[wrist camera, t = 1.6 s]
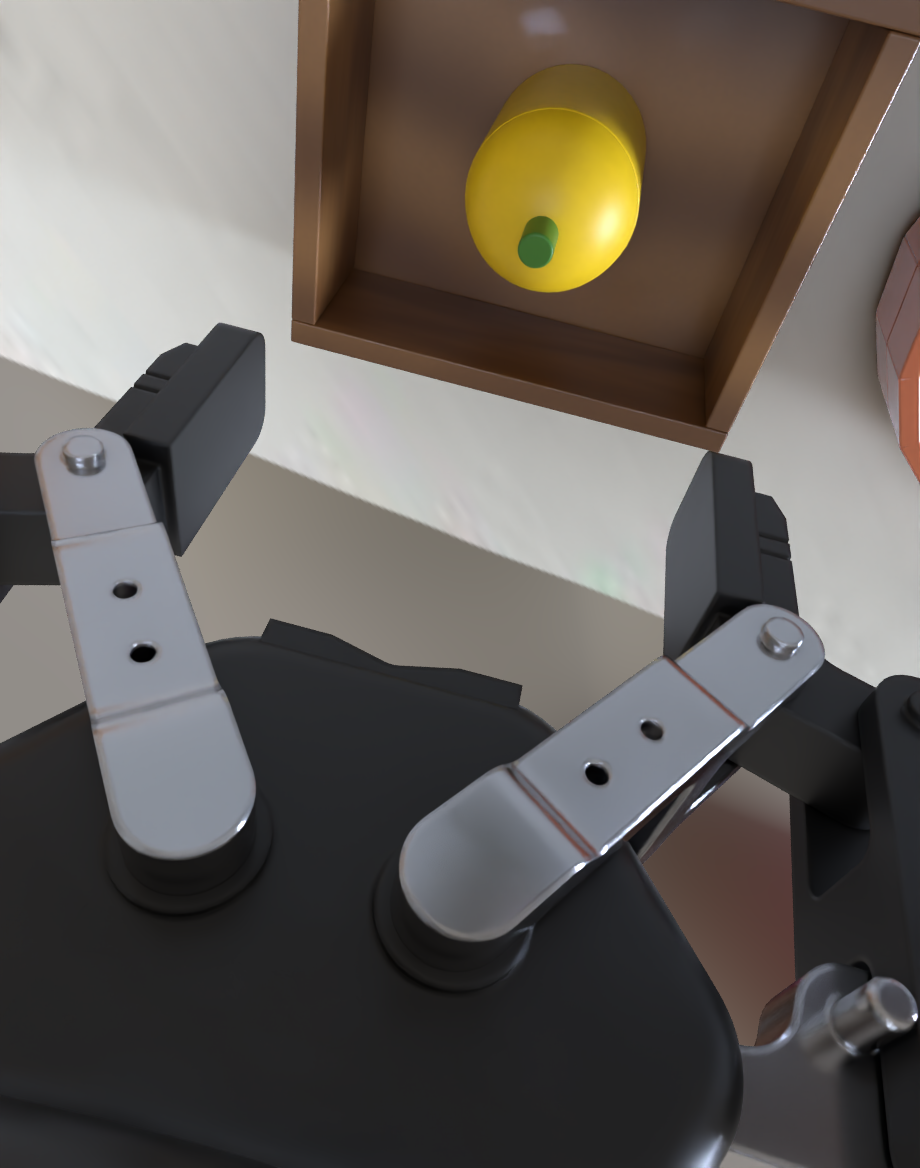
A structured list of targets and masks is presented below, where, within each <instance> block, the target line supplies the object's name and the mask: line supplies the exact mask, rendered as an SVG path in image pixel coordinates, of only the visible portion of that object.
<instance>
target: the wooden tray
mask: <svg viewBox="0 0 920 1168" xmlns="http://www.w3.org/2000/svg"><path fill="white" fill-rule="evenodd" d="M919 47H920V0H299V14H298V59H297V104H296V149H295V194H294V239H293V284H292V328H291V340H292V341H293V342H297V343H301V344H304V345H308V346H312V347H316V348H320V349H323V350H327V351H331V352H335V353H339V354H343V355H346V356H350V357H354V358H358V359H362V360H365V361H369V362H373V363H377V364H381V365H385V366H388V367H392V368H396V369H400V370H404V371H408V372H411V373H415V374H419V375H423V376H427V377H430V378H434V379H438V380H442V381H446V382H450V383H453V384H457V385H461V386H465V387H469V388H472V389H476V390H480V391H484V392H488V393H492V394H495V395H499V396H503V397H507V398H511V399H514V400H518V401H522V402H526V403H530V404H534V405H537V406H541V407H545V408H549V409H553V410H557V411H560V412H564V413H568V414H572V415H576V416H579V417H583V418H587V419H591V420H595V421H599V422H602V423H606V424H610V425H614V426H618V427H621V428H625V429H629V430H633V431H637V432H641V433H644V434H648V435H652V436H656V437H660V438H664V439H667V440H671V441H675V442H679V443H683V444H686V445H690V446H694V447H698V448H702V449H706V450H709V451H713V452H717V453H718V452H719V451H720V450H721V448H722V446H723V444H724V442H725V440H726V437H727V435H728V432H729V431H730V429H731V427H732V425H733V423H734V421H735V419H736V417H737V415H738V413H739V411H740V409H741V407H742V405H743V403H744V401H745V399H746V397H747V395H748V393H749V391H750V389H751V387H752V385H753V382H754V380H755V378H756V376H757V374H758V372H759V370H760V368H761V366H762V364H763V362H764V360H765V358H766V356H767V354H768V352H769V350H770V348H771V346H772V344H773V342H774V340H775V338H776V336H777V334H778V332H779V330H780V328H781V326H782V324H783V322H784V320H785V318H786V316H787V314H788V312H789V310H790V308H791V306H792V304H793V302H794V300H795V298H796V295H797V293H798V291H799V289H800V287H801V285H802V283H803V281H804V279H805V277H806V275H807V273H808V271H809V269H810V267H811V265H812V263H813V261H814V259H815V257H816V255H817V253H818V251H819V249H820V247H821V245H822V243H823V241H824V239H825V237H826V235H827V233H828V231H829V229H830V227H831V225H832V223H833V221H834V219H835V217H836V215H837V213H838V211H839V208H840V206H841V204H842V202H843V200H844V198H845V196H846V194H847V192H848V190H849V188H850V186H851V184H852V182H853V180H854V178H855V176H856V174H857V172H858V170H859V168H860V166H861V164H862V162H863V160H864V158H865V156H866V154H867V152H868V150H869V148H870V146H871V144H872V142H873V140H874V138H875V136H876V134H877V132H878V130H879V128H880V126H881V124H882V121H883V119H884V117H885V115H886V113H887V111H888V109H889V107H890V105H891V103H892V101H893V99H894V97H895V95H896V93H897V91H898V89H899V87H900V85H901V83H902V81H903V79H904V77H905V75H906V73H907V71H908V69H909V67H910V65H911V63H912V61H913V59H914V57H915V55H916V53H917V51H918V49H919ZM566 64H579V65H584V66H590V67H593V68H596V69H598V70H601V71H603V72H605V73H607V74H608V75H610V76H611V77H613V78H614V79H615V80H617V81H618V82H619V83H620V84H621V85H622V86H623V87H624V88H625V89H626V90H627V91H628V93H629V94H630V95H631V96H632V98H633V100H634V101H635V103H636V105H637V107H638V109H639V111H640V114H641V116H642V120H643V123H644V127H645V134H646V156H645V164H644V172H643V181H642V189H641V197H640V205H639V213H638V218H637V222H636V226H635V229H634V231H633V234H632V236H631V238H630V240H629V242H628V244H627V246H626V248H625V249H624V250H623V252H622V253H621V255H620V256H619V257H618V258H617V259H616V261H615V262H614V263H613V264H612V265H611V266H610V267H609V268H608V269H606V270H605V271H604V272H603V273H602V274H600V275H599V276H598V277H596V278H594V279H593V280H591V281H590V282H588V283H586V284H584V285H582V286H579V287H577V288H574V289H571V290H566V291H561V292H550V293H549V292H537V291H532V290H528V289H525V288H522V287H519V286H517V285H515V284H512V283H510V282H509V281H507V280H506V279H504V278H503V277H501V276H500V275H499V274H498V273H496V272H495V271H494V270H493V269H492V268H491V267H490V266H489V265H488V264H487V262H486V261H485V260H484V258H483V257H482V256H481V254H480V252H479V251H478V249H477V247H476V245H475V243H474V240H473V238H472V235H471V233H470V229H469V226H468V222H467V216H466V209H465V189H466V182H467V177H468V173H469V170H470V167H471V164H472V162H473V159H474V157H475V155H476V154H477V152H478V150H479V148H480V146H481V144H482V143H483V141H484V139H485V137H486V136H487V134H488V132H489V130H490V129H491V127H492V125H493V123H494V122H495V120H496V118H497V116H498V115H499V113H500V111H501V109H502V108H503V106H504V104H505V102H506V101H507V100H508V98H509V97H510V95H511V94H512V93H513V92H514V91H515V90H516V89H517V87H518V86H519V85H521V84H522V83H523V82H524V81H525V80H527V79H528V78H530V77H531V76H533V75H534V74H536V73H538V72H540V71H542V70H545V69H547V68H550V67H554V66H558V65H566Z"/></svg>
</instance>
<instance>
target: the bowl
mask: <svg viewBox="0 0 920 1168" xmlns="http://www.w3.org/2000/svg"><path fill="white" fill-rule="evenodd" d="M876 340H877V370H878V379H879V383H880V386H881V389H882V392H883V395H884V399H885V402H886V405H887V408H888V411H889V415H890V418H891V421H892V424H893V428H894V431H895V434H896V437H897V440H898V444H899V447H900V450H901V451H902V453H903V455H904V457H905V458H906V460H907V462H908V464H909V466H910V467H911V469H912V471H913V473H914V475H915V476H916V478H917V480H918V482H919V484H920V217H919V218H918V219H917V220H916V222H915V223H914V224H913V226H912V227H911V228H910V229H909V231H908V232H907V233H906V235H905V237H904V238H903V240H902V243H901V245H900V248H899V251H898V253H897V256H896V259H895V262H894V264H893V267H892V270H891V272H890V275H889V278H888V280H887V283H886V286H885V288H884V291H883V294H882V297H881V299H880V302H879V305H878V307H877V310H876Z"/></svg>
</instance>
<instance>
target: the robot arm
mask: <svg viewBox="0 0 920 1168" xmlns="http://www.w3.org/2000/svg"><path fill="white" fill-rule="evenodd" d="M264 416H265V340H264V337H263V335H262V334H261V333H259V332H255V331H251V330H247V329H243V328H240V327H236V326H232V325H228V324H224V323H218V324H217V325H216V326H215V327H214V328H213V329H212V330H211V331H210V333H209V334H208V335H207V336H206V337H205V338H204V340H203V341H202V342H201V343H200V344H199V345H198V346H196V345H192V344H188V343H184V344H182V345H180V346H178V347H175V348H173V349H171V350H169V351H167V352H165V353H163V354H161V355H160V356H159V357H158V358H157V359H156V360H155V361H154V362H153V364H152V365H151V366H150V367H149V368H148V369H147V370H146V374H142V376H141V377H140V378H139V379H138V380H137V381H136V382H135V383H134V387H131V388H130V389H129V390H128V391H127V392H126V393H125V394H124V395H123V396H122V398H121V399H120V400H119V401H118V402H117V403H116V404H115V405H114V406H113V407H112V409H111V410H110V411H109V412H108V413H107V414H106V415H105V416H104V417H103V418H102V419H101V421H100V422H99V423H98V424H97V425H96V426H95V427H94V428H80V429H79V428H78V429H72V430H67V431H64V432H61V433H58V434H56V435H53V436H52V437H50V438H48V439H47V440H45V441H44V442H43V443H42V444H41V445H40V446H39V447H38V449H37V451H36V452H35V453H0V603H1V602H2V600H3V599H4V597H5V596H6V595H7V593H8V592H9V591H10V589H11V588H12V587H13V585H61V589H62V593H63V598H64V603H65V607H66V611H67V616H68V620H69V625H70V630H71V634H72V638H73V643H74V648H75V652H76V657H77V661H78V666H79V670H80V675H81V679H82V684H83V688H84V693H85V697H86V701H84V702H82V703H80V704H78V705H76V706H75V707H72V708H70V709H68V710H66V711H64V712H62V713H60V714H58V715H56V716H54V717H52V718H50V719H48V720H46V721H44V722H42V723H40V724H38V725H36V726H34V727H32V728H30V729H28V730H26V731H24V732H23V733H20V734H18V735H16V736H14V737H12V738H10V739H8V740H6V741H4V742H2V743H0V1168H920V678H917V677H913V676H908V675H894V676H890V677H888V678H886V679H884V680H883V681H882V682H881V683H880V684H879V685H878V686H877V687H876V688H875V687H873V686H871V685H869V684H867V683H865V682H864V681H862V680H860V679H858V678H856V677H854V676H852V675H850V674H848V673H846V672H844V671H842V670H841V669H839V668H837V667H836V666H834V665H833V664H831V663H830V662H828V661H827V660H826V659H824V658H825V650H824V646H823V643H822V641H821V639H820V637H819V635H818V634H817V633H816V631H815V630H814V629H813V628H812V627H811V626H810V625H809V624H808V623H807V622H806V621H805V620H803V619H802V618H801V617H799V612H798V604H797V597H796V590H795V582H794V575H793V567H792V561H790V558H791V552H790V545H789V544H788V541H789V537H788V530H787V522H786V518H785V516H784V515H783V513H782V512H781V510H780V509H779V507H778V505H777V504H776V502H775V501H774V499H773V498H772V497H771V496H767V495H764V494H760V493H756V492H755V488H754V478H753V467H752V463H751V462H750V461H747V460H743V459H739V458H736V457H732V456H728V455H724V454H720V453H716V452H713V451H708V452H707V453H706V454H705V456H704V457H703V459H702V461H701V463H700V465H699V467H698V469H697V471H696V473H695V475H694V477H693V479H692V481H691V484H690V486H689V488H688V490H687V492H686V494H685V496H684V498H683V500H682V502H681V504H680V507H679V509H678V511H677V513H676V515H675V517H674V520H673V522H672V525H671V528H670V532H669V536H668V540H667V546H666V573H665V610H664V648H663V656H660V657H658V658H657V659H655V660H654V661H653V662H651V663H650V664H648V665H647V666H646V667H644V668H643V669H642V670H640V671H639V672H637V673H636V674H635V675H633V676H632V677H630V678H629V679H628V680H626V681H625V682H624V683H622V684H621V685H619V686H618V687H617V688H616V689H614V690H613V691H611V692H610V693H609V694H607V695H606V696H604V697H603V698H602V699H600V700H599V701H598V702H596V703H595V704H593V705H592V706H591V707H589V708H588V709H587V710H585V711H584V712H582V713H581V714H580V715H578V716H577V717H576V718H574V719H573V720H571V721H570V722H569V723H567V724H566V725H565V726H563V727H562V728H560V729H559V730H558V731H556V730H555V729H554V728H553V727H552V726H551V725H549V724H548V723H547V722H546V721H544V720H543V719H542V718H540V717H539V716H538V715H536V714H534V713H533V712H532V711H530V710H528V709H527V708H525V707H523V706H520V705H519V702H520V696H521V691H522V685H519V684H515V683H512V682H508V681H504V680H500V679H497V678H493V677H489V676H485V675H482V674H477V673H474V672H470V671H466V670H462V669H454V668H435V667H415V666H398V665H392V664H389V663H386V662H384V661H382V660H380V659H378V658H376V657H374V656H372V655H371V654H369V653H367V652H365V651H363V650H361V649H359V648H357V647H355V646H353V645H351V644H349V643H347V642H345V641H343V640H341V639H339V638H337V637H335V636H333V635H331V634H327V633H323V632H319V631H316V630H312V629H308V628H304V627H301V626H297V625H293V624H289V623H286V622H282V621H278V620H274V619H270V620H269V622H268V624H267V626H266V628H265V630H264V632H263V634H262V636H261V637H258V636H249V637H234V638H228V639H221V640H218V641H213V642H209V643H204V640H203V637H202V634H201V631H200V628H199V625H198V622H197V619H196V617H195V613H194V610H193V608H192V605H191V602H190V599H189V596H188V593H187V590H186V588H185V584H184V581H183V579H182V576H181V573H180V570H179V567H178V564H177V561H176V558H175V555H177V556H182V555H183V554H184V552H185V551H186V549H187V548H188V546H189V544H190V543H191V541H192V540H193V538H194V537H195V535H196V534H197V532H198V530H199V529H200V528H201V526H202V524H203V523H204V521H205V520H206V518H207V517H208V515H209V514H210V512H211V511H212V509H213V507H214V506H215V504H216V503H217V501H218V500H219V498H220V497H221V495H222V494H223V492H224V490H225V489H226V487H227V486H228V484H229V483H230V481H231V480H232V478H233V477H234V475H235V474H236V472H237V470H238V469H239V467H240V466H241V464H242V463H243V461H244V460H245V458H246V456H247V455H248V453H249V452H250V450H251V449H252V447H253V446H254V444H255V443H256V441H257V439H258V437H259V435H260V432H261V429H262V426H263V421H264ZM741 767H743V768H745V769H746V770H748V771H750V772H752V773H754V774H755V775H757V776H759V777H761V778H762V779H764V780H766V781H767V782H769V783H771V784H773V785H774V786H776V787H778V788H780V789H781V790H783V791H785V792H787V793H788V794H789V795H790V825H791V856H792V885H793V886H792V887H793V917H794V945H795V946H794V948H795V978H796V981H795V982H794V983H793V984H791V985H790V986H788V987H787V988H786V989H784V990H783V991H782V992H780V993H779V994H777V995H776V996H775V997H773V998H772V999H771V1000H770V1001H769V1002H768V1003H767V1004H766V1006H765V1008H764V1009H763V1011H762V1014H761V1017H760V1021H759V1027H758V1034H757V1039H756V1042H755V1045H754V1046H743V1045H739V1043H738V1038H737V1035H736V1031H735V1028H734V1025H733V1022H732V1019H731V1017H730V1015H729V1012H728V1010H727V1008H726V1006H725V1004H724V1002H723V1000H722V998H721V996H720V994H719V993H718V991H717V989H716V987H715V986H714V984H713V982H712V981H711V979H710V977H709V976H708V974H707V972H706V971H705V969H704V967H703V966H702V964H701V962H700V961H699V959H698V957H697V956H696V954H695V952H694V951H693V949H692V947H691V946H690V944H689V942H688V941H687V939H686V937H685V936H684V934H683V932H682V931H681V929H680V927H679V925H678V924H677V922H676V920H675V919H674V917H673V915H672V914H671V912H670V910H669V909H668V907H667V905H666V904H665V902H664V900H663V899H662V897H661V895H660V894H659V892H658V890H657V889H656V887H655V885H654V884H653V882H652V880H651V879H650V877H649V875H648V874H647V872H646V870H645V869H644V867H643V865H642V864H643V863H644V862H645V861H646V860H647V859H648V858H649V857H650V856H651V855H652V854H653V853H654V852H655V851H656V850H657V849H658V847H659V846H660V845H661V844H662V843H663V842H664V841H665V840H666V838H667V837H668V836H669V835H670V834H671V833H672V832H673V831H674V830H675V829H676V828H677V827H678V826H679V825H680V824H681V823H682V822H683V821H684V820H685V819H686V818H687V817H688V816H689V815H691V813H693V812H694V811H695V810H696V809H697V808H698V807H699V806H700V805H701V804H702V803H703V802H704V801H706V800H707V799H708V798H709V797H710V796H711V795H712V794H713V793H714V792H715V791H716V790H717V789H718V788H719V787H720V786H721V785H723V784H724V783H725V782H726V781H727V780H728V779H729V778H730V777H731V776H732V775H733V774H734V773H736V772H737V771H738V770H739V769H740V768H741Z"/></svg>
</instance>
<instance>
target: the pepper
mask: <svg viewBox="0 0 920 1168" xmlns="http://www.w3.org/2000/svg"><path fill="white" fill-rule="evenodd" d="M645 156H646V134H645V127H644V123H643V120H642V116H641V114H640V111H639V109H638V107H637V105H636V103H635V101H634V100H633V98H632V96H631V95H630V94H629V93H628V91H627V90H626V89H625V88H624V87H623V86H622V85H621V84H620V83H619V82H618V81H617V80H615V79H614V78H613V77H611V76H610V75H608V74H607V73H605V72H603V71H601V70H598V69H596V68H593V67H590V66H584V65H579V64H566V65H558V66H554V67H550V68H547V69H545V70H542V71H540V72H538V73H536V74H534V75H533V76H531V77H530V78H528V79H527V80H525V81H524V82H523V83H522V84H521V85H519V86H518V87H517V89H516V90H515V91H514V92H513V93H512V94H511V95H510V97H509V98H508V100H507V101H506V102H505V104H504V106H503V108H502V109H501V111H500V113H499V115H498V116H497V118H496V120H495V122H494V123H493V125H492V127H491V129H490V130H489V132H488V134H487V136H486V137H485V139H484V141H483V143H482V144H481V146H480V148H479V150H478V152H477V154H476V155H475V157H474V159H473V162H472V164H471V167H470V170H469V173H468V177H467V182H466V189H465V209H466V216H467V222H468V226H469V229H470V233H471V235H472V238H473V240H474V243H475V245H476V247H477V249H478V251H479V252H480V254H481V256H482V257H483V258H484V260H485V261H486V262H487V264H488V265H489V266H490V267H491V268H492V269H493V270H494V271H495V272H496V273H498V274H499V275H500V276H501V277H503V278H504V279H506V280H507V281H509V282H510V283H512V284H515V285H517V286H519V287H522V288H525V289H528V290H532V291H537V292H549V293H550V292H561V291H566V290H571V289H574V288H577V287H579V286H582V285H584V284H586V283H588V282H590V281H591V280H593V279H594V278H596V277H598V276H599V275H600V274H602V273H603V272H604V271H605V270H606V269H608V268H609V267H610V266H611V265H612V264H613V263H614V262H615V261H616V259H617V258H618V257H619V256H620V255H621V253H622V252H623V250H624V249H625V248H626V246H627V244H628V242H629V240H630V238H631V236H632V234H633V231H634V229H635V226H636V222H637V218H638V213H639V205H640V197H641V189H642V181H643V172H644V164H645Z"/></svg>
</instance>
